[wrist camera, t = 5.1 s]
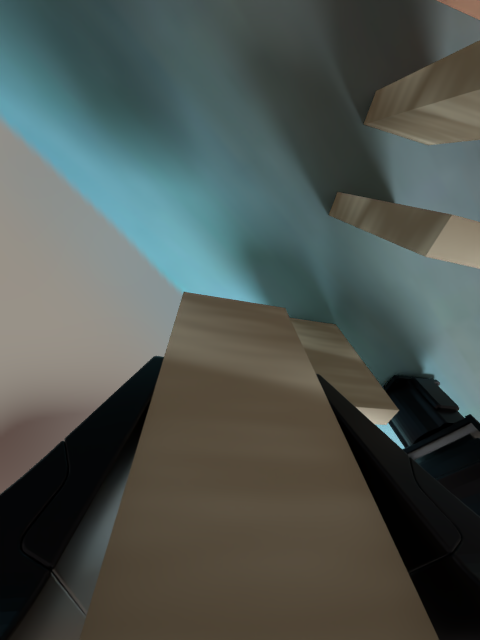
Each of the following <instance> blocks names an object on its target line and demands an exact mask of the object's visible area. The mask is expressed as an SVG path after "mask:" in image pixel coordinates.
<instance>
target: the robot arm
mask: <svg viewBox="0 0 480 640" xmlns="http://www.w3.org/2000/svg"><path fill="white" fill-rule="evenodd" d="M163 359H164V357H160V356H154V357H153V358H152V359H151V360H150V361H149V362H147V363H146V364H145V365H144V366H143V367H142V368H141V369H140V370H139V371H138V372H137V373H135V374H134V375H133V376H132V377H131V378H130V379H129V380H128V381H127V382H126V383H125V384H123V385H122V386H121V387H120V388H119V389H118V390H117V391H116V392H115V393H114V394H113V395H112V396H110V397H109V398H108V399H107V400H106V401H105V402H104V403H103V404H102V405H101V406H100V407H99V408H97V409H96V410H95V411H94V412H93V413H92V414H91V415H90V416H89V417H88V418H87V419H85V420H84V421H83V422H82V423H81V424H80V425H79V426H78V427H77V428H76V429H75V430H74V431H72V432H71V433H70V434H69V435H68V436H67V437H66V438H65V442H64V441H61V442H60V443H59V444H58V445H57V446H56V447H55V448H54V449H53V450H52V451H50V453H48V454H47V455H46V456H45V457H44V458H43V459H41V460H40V461H39V462H38V463H37V464H36V465H35V466H34V467H33V468H31V469H30V470H29V471H28V472H27V473H26V474H24V475H23V476H22V477H21V478H20V479H18V480H17V481H16V482H15V483H14V484H12V485H11V486H10V487H9V488H7V489H6V490H5V491H4V492H3V493H2V494H0V640H79V639H80V636H81V633H82V629H83V626H84V623H85V619H86V616H87V613H88V609H89V606H90V603H91V599H92V596H93V593H94V589H95V586H96V583H97V579H98V576H99V573H100V569H101V566H102V563H103V559H104V556H105V553H106V549H107V546H108V543H109V539H110V536H111V533H112V529H113V526H114V523H115V519H116V516H117V513H118V509H119V506H120V503H121V499H122V496H123V493H124V489H125V486H126V483H127V479H128V476H129V473H130V469H131V466H132V463H133V459H134V456H135V453H136V449H137V446H138V443H139V439H140V436H141V433H142V429H143V426H144V423H145V419H146V416H147V413H148V409H149V406H150V403H151V399H152V396H153V393H154V389H155V386H156V383H157V379H158V376H159V373H160V369H161V366H162V363H163ZM316 376H317V378H318V380H319V382H320V384H321V386H322V389H323V391H324V393H325V395H326V397H327V399H328V401H329V404H330V406H331V408H332V410H333V412H334V414H335V417H336V419H337V421H338V423H339V425H340V427H341V429H342V432H343V434H344V436H345V438H346V440H347V442H348V445H349V447H350V449H351V451H352V453H353V455H354V457H355V460H356V462H357V464H358V466H359V468H360V470H361V473H362V475H363V477H364V479H365V481H366V483H367V485H368V488H369V490H370V492H371V494H372V496H373V498H374V501H375V503H376V505H377V507H378V509H379V511H380V513H381V516H382V518H383V520H384V522H385V524H386V526H387V529H388V531H389V533H390V535H391V537H392V539H393V541H394V544H395V546H396V548H397V550H398V552H399V554H400V557H401V559H402V561H403V563H404V565H405V567H406V569H407V572H408V574H409V576H410V578H411V580H412V582H413V585H414V587H415V589H416V591H417V593H418V595H419V597H420V600H421V602H422V604H423V606H424V608H425V610H426V613H427V615H428V617H429V619H430V621H431V623H432V625H433V628H434V630H435V632H436V634H437V636H438V638H439V640H480V423H479V422H478V421H477V420H476V419H475V418H474V417H473V416H472V415H471V414H469V415H467V416H465V417H466V418H464V417H463V416H462V415H461V414H460V413H459V412H458V410H459V407H458V405H457V404H456V403H455V402H454V401H453V400H452V399H451V398H450V397H449V396H448V395H447V394H446V393H445V392H444V391H443V390H442V389H441V388H440V387H439V385H440V383H439V382H438V381H437V380H434V379H425V378H416V377H407V376H394V377H393V378H392V379H391V380H390V382H389V383H388V384H387V385H386V387H385V388H384V390H385V392H386V393H387V395H388V396H389V397H390V399H391V400H392V401H393V403H394V404H395V405H396V407H397V408H398V409H399V411H398V412H397V413H396V414H395V416H394V417H393V418H392V419H391V420H390V421H389V422H388V423H389V425H390V426H391V428H392V429H393V431H394V432H395V434H396V435H397V437H398V438H399V440H400V441H401V443H402V444H403V446H404V447H405V448H404V449H401V448H400V447H399V446H398V445H397V444H396V443H395V442H393V441H392V440H391V439H390V438H389V437H388V436H387V435H386V434H385V433H384V432H382V431H381V430H380V429H379V428H378V427H377V426H376V425H375V424H374V423H373V422H371V421H370V420H369V419H368V418H367V417H366V416H365V415H364V414H363V413H362V412H360V411H359V410H358V409H357V408H356V407H355V406H354V405H353V404H352V403H351V402H349V401H348V400H347V399H346V398H345V397H344V396H343V395H342V394H341V393H340V392H338V391H337V390H336V389H335V388H334V387H333V386H332V385H331V384H330V383H329V382H327V381H326V380H325V379H324V378H323V377H322V376H321V375H319V374H316Z"/></svg>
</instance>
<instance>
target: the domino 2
mask: <svg viewBox="0 0 480 640" xmlns="http://www.w3.org/2000/svg"><path fill="white" fill-rule="evenodd" d="M290 320H291V322H292V324H293V326H294V328H295V330H296V333H297V335H298V337H299V339H300V341H301V343H302V345H303V348H304V350H305V352H306V354H307V356H308V358H309V361H310V363H311V365H312V367H313V369H314V371H315V373H316V374H319V375H321V376H322V377H323V378H324V379H325V380H326V381H327V382H329V383H330V384H331V385H332V386H333V387H334V388H335V389H336V390H337V391H338V392H340V393H341V394H342V395H343V396H344V397H345V398H346V399H347V400H348V401H349V402H351V403H352V404H353V405H354V406H355V407H356V408H357V409H358V410H359V411H360V412H362V413H363V414H364V415H365V416H366V417H367V418H368V419H369V420H370V421H371V422H373V423H374V424H381V425H386V424H387V423H388V422H389V421H390V420H391V419H392V418H393V417H394V416H395V414H396V413H397V412H398V411H399V409H398V408H397V407H396V405H395V404H394V403H393V401H392V400H391V399H390V397H389V396H388V395H387V393H386V392H385V390H384V389H383V388H382V386H381V385H380V384H379V382H378V381H377V380H376V378H375V377H374V376H373V374H372V373H371V372H370V370H369V369H368V367H367V366H366V365H365V363H364V362H363V361H362V359H361V358H360V357H359V355H358V354H357V353H356V351H355V350H354V349H353V347H352V346H351V344H350V343H349V342H348V340H347V339H346V338H345V336H344V335H343V334H342V332H341V331H340V330H339V328H338V327H337V326H336V324H329V323H322V322H316V321H309V320H302V319H295V318H290Z"/></svg>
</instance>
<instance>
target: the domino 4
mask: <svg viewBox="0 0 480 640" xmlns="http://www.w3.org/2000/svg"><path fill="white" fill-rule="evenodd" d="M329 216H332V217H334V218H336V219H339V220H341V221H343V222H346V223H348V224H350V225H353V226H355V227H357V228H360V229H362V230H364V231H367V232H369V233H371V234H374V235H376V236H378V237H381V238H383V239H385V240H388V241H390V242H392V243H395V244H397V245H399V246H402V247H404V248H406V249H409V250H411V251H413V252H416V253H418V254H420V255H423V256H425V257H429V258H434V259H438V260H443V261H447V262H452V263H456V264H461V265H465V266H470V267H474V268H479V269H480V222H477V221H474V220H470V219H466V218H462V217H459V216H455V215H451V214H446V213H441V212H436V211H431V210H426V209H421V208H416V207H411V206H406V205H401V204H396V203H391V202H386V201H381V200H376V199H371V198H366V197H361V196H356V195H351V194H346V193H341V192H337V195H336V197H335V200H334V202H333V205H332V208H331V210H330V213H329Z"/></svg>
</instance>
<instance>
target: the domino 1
mask: <svg viewBox="0 0 480 640" xmlns="http://www.w3.org/2000/svg"><path fill="white" fill-rule="evenodd" d="M79 640H439V638H438V636H437V634H436V632H435V630H434V628H433V625H432V623H431V621H430V619H429V617H428V615H427V613H426V610H425V608H424V606H423V604H422V602H421V600H420V597H419V595H418V593H417V591H416V589H415V587H414V585H413V582H412V580H411V578H410V576H409V574H408V572H407V569H406V567H405V565H404V563H403V561H402V559H401V557H400V554H399V552H398V550H397V548H396V546H395V544H394V541H393V539H392V537H391V535H390V533H389V531H388V529H387V526H386V524H385V522H384V520H383V518H382V516H381V513H380V511H379V509H378V507H377V505H376V503H375V501H374V498H373V496H372V494H371V492H370V490H369V488H368V485H367V483H366V481H365V479H364V477H363V475H362V473H361V470H360V468H359V466H358V464H357V462H356V460H355V457H354V455H353V453H352V451H351V449H350V447H349V445H348V442H347V440H346V438H345V436H344V434H343V432H342V429H341V427H340V425H339V423H338V421H337V419H336V417H335V414H334V412H333V410H332V408H331V406H330V404H329V401H328V399H327V397H326V395H325V393H324V391H323V389H322V386H321V384H320V382H319V380H318V378H317V376H316V373H315V371H314V369H313V367H312V365H311V363H310V361H309V358H308V356H307V354H306V352H305V350H304V348H303V345H302V343H301V341H300V339H299V337H298V335H297V333H296V330H295V328H294V326H293V324H292V322H291V320H290V317H289V315H288V313H287V311H286V309H285V308H282V307H276V306H269V305H263V304H257V303H250V302H244V301H238V300H232V299H225V298H219V297H213V296H207V295H200V294H194V293H188V292H184V293H183V296H182V300H181V303H180V306H179V309H178V313H177V316H176V320H175V323H174V326H173V329H172V333H171V336H170V340H169V343H168V346H167V349H166V353H165V356H164V359H163V363H162V366H161V369H160V373H159V376H158V379H157V383H156V386H155V389H154V393H153V396H152V399H151V403H150V406H149V409H148V413H147V416H146V419H145V423H144V426H143V429H142V433H141V436H140V439H139V443H138V446H137V449H136V453H135V456H134V459H133V463H132V466H131V469H130V473H129V476H128V479H127V483H126V486H125V489H124V493H123V496H122V499H121V503H120V506H119V509H118V513H117V516H116V519H115V523H114V526H113V529H112V533H111V536H110V539H109V543H108V546H107V549H106V553H105V556H104V559H103V563H102V566H101V569H100V573H99V576H98V579H97V583H96V586H95V589H94V593H93V596H92V599H91V603H90V606H89V609H88V613H87V616H86V619H85V623H84V626H83V629H82V633H81V636H80V639H79Z"/></svg>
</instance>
